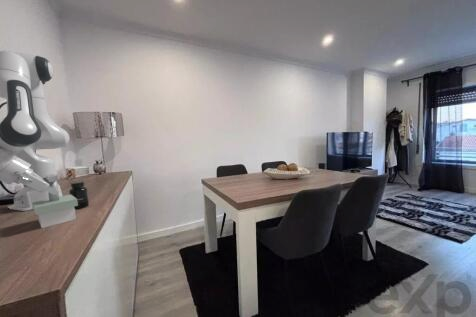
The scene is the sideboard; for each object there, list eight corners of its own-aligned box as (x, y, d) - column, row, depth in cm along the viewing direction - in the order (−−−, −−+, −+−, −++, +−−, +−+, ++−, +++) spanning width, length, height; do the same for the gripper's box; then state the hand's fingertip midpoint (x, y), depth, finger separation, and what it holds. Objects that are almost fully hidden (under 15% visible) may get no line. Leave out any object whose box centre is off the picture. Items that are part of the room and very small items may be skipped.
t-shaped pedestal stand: (32, 208, 80) (28, 176, 78) (71, 200, 89) (67, 171, 87) (35, 215, 72) (30, 179, 71) (77, 205, 81) (73, 174, 79)
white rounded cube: (38, 221, 80) (36, 204, 80) (70, 213, 88) (68, 198, 87) (41, 228, 74) (38, 209, 73) (76, 219, 81) (73, 202, 81)
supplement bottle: (79, 209, 93) (75, 184, 91) (67, 209, 94) (63, 184, 93) (92, 204, 99) (89, 180, 98) (81, 204, 101) (78, 180, 99)
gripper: (24, 166, 66) (67, 188, 75) (21, 163, 80) (58, 182, 88) (6, 182, 64) (52, 204, 72) (6, 176, 77) (45, 195, 85)
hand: (55, 192), depth 80 cm, fingers open, 4 cm apart
